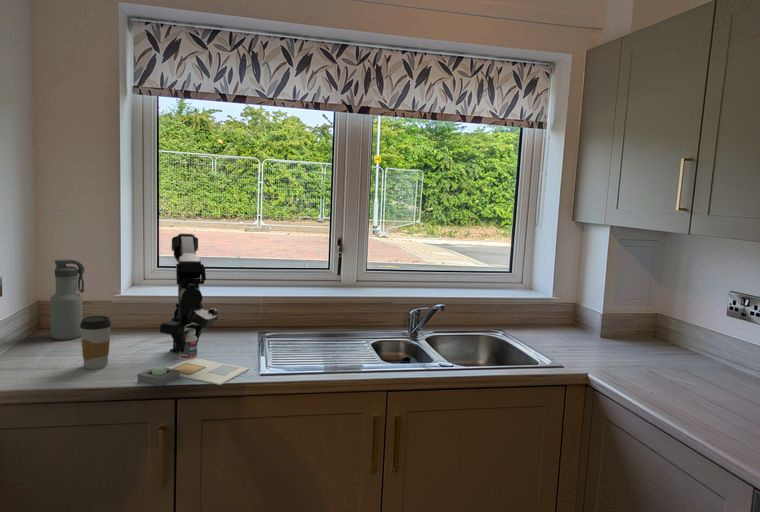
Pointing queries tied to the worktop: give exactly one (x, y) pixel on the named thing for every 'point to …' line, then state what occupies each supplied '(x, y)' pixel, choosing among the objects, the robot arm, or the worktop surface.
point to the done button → (159, 371)
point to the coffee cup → (95, 341)
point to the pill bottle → (189, 346)
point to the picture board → (208, 371)
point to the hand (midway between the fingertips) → (188, 349)
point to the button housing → (158, 377)
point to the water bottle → (67, 301)
